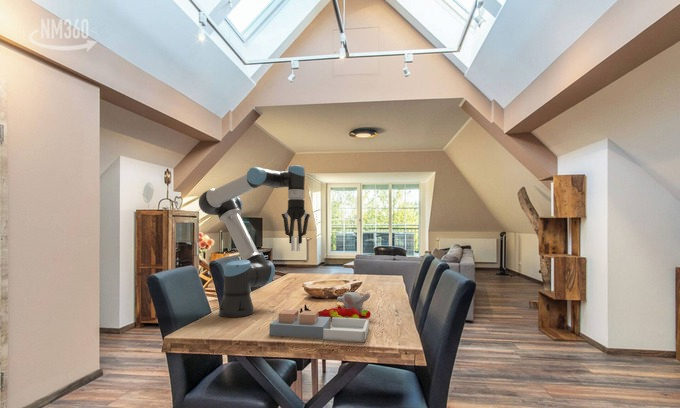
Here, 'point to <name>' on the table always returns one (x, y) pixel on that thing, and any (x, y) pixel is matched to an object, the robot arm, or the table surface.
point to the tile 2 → (308, 316)
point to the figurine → (341, 313)
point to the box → (347, 330)
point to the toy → (353, 300)
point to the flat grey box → (300, 328)
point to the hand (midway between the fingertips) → (295, 250)
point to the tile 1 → (288, 316)
